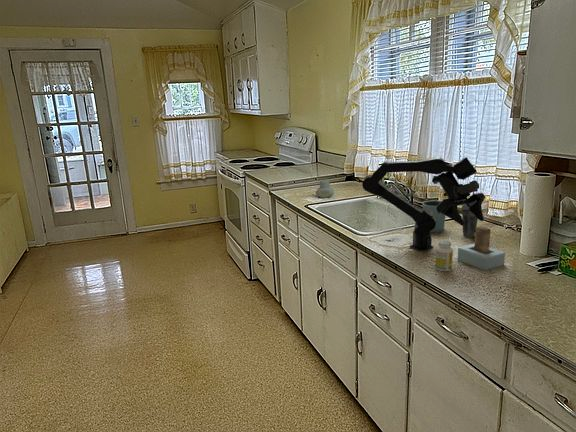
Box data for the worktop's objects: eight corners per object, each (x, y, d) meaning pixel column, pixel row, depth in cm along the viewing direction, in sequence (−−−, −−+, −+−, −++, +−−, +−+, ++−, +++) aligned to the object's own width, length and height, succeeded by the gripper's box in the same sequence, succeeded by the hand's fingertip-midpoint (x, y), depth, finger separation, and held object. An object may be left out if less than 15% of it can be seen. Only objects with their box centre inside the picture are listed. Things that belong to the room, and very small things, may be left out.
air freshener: (334, 195, 265) (333, 179, 262) (333, 198, 257) (333, 182, 254) (316, 195, 266) (316, 179, 264) (315, 198, 259) (315, 182, 256)
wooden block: (473, 259, 151) (475, 227, 148) (478, 258, 152) (481, 226, 149) (482, 263, 147) (485, 230, 144) (487, 261, 148) (490, 229, 145)
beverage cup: (455, 234, 180) (458, 188, 175) (469, 232, 183) (472, 186, 177) (468, 239, 174) (471, 191, 168) (482, 236, 176) (485, 189, 171)
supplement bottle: (439, 272, 143) (440, 245, 141) (432, 266, 148) (433, 240, 146) (454, 270, 144) (456, 243, 141) (447, 265, 149) (448, 238, 146)
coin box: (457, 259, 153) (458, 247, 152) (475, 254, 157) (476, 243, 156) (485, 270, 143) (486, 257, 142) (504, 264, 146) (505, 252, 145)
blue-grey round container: (446, 227, 191) (448, 201, 188) (444, 233, 182) (445, 206, 179) (423, 225, 195) (424, 199, 192) (420, 231, 186) (420, 205, 183)
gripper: (443, 176, 146) (467, 214, 139) (483, 170, 153) (507, 206, 147) (426, 195, 155) (447, 231, 148) (464, 188, 163) (486, 222, 156)
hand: (473, 222), depth 150 cm, fingers open, 9 cm apart
